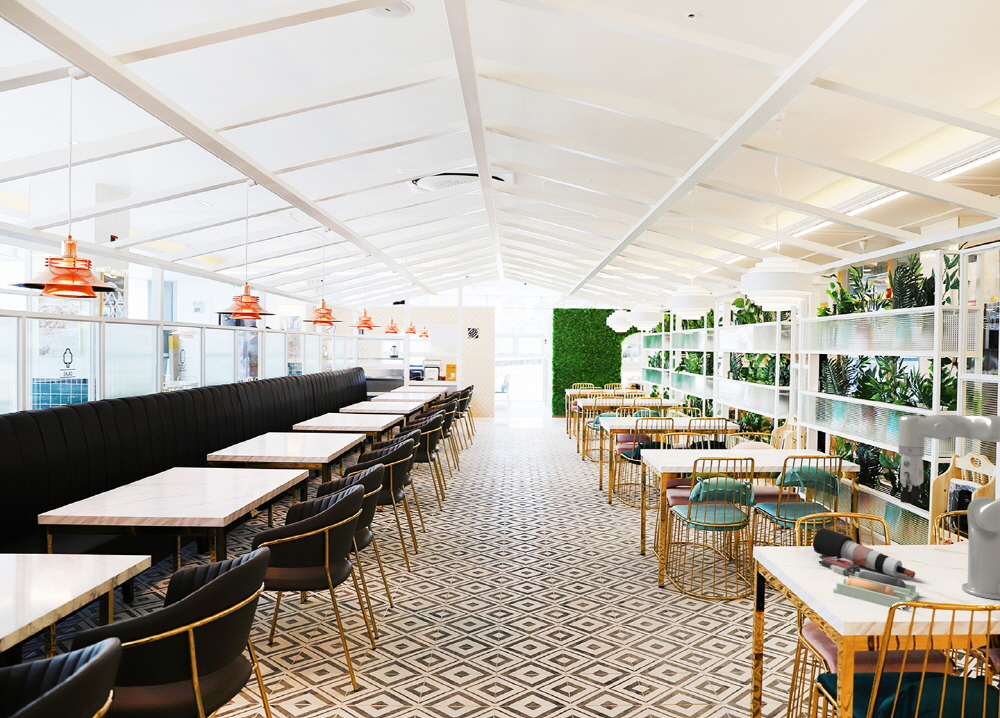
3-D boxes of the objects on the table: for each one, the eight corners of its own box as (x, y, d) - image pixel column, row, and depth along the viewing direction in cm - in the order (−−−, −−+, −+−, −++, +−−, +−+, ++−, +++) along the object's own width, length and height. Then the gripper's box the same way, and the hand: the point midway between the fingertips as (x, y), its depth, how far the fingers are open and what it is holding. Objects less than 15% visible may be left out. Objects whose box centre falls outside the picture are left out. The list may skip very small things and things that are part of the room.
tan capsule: (895, 600, 204) (896, 588, 205) (891, 600, 201) (892, 587, 202) (847, 588, 214) (848, 576, 215) (843, 588, 211) (844, 576, 212)
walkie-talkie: (814, 566, 241) (863, 583, 222) (814, 554, 241) (863, 570, 222) (830, 563, 244) (880, 580, 226) (830, 551, 244) (880, 568, 226)
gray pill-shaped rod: (907, 591, 211) (907, 579, 211) (903, 594, 209) (903, 582, 209) (860, 580, 221) (860, 568, 222) (856, 583, 219) (856, 571, 219)
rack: (919, 596, 210) (919, 586, 210) (902, 610, 198) (902, 599, 198) (852, 580, 225) (852, 570, 225) (833, 592, 212) (833, 582, 212)
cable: (908, 594, 224) (904, 572, 221) (815, 558, 253) (811, 537, 249) (922, 577, 229) (919, 554, 225) (829, 543, 257) (826, 523, 254)
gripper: (916, 455, 214) (915, 506, 214) (930, 450, 226) (929, 499, 226) (891, 452, 220) (890, 502, 220) (906, 448, 232) (905, 495, 232)
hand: (910, 500), depth 223 cm, fingers open, 9 cm apart
